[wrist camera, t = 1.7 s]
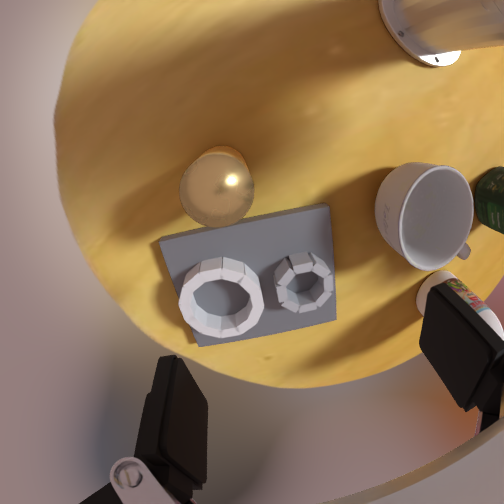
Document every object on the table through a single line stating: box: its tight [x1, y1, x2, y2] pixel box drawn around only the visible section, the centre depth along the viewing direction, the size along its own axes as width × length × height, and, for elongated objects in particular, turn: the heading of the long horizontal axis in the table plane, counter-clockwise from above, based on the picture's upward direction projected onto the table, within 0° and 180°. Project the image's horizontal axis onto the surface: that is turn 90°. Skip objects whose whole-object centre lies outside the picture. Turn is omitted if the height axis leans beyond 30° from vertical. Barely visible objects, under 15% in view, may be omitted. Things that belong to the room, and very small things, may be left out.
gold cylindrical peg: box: [179, 146, 254, 227], centre depth 23 cm, size 5×5×10 cm
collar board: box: [159, 203, 336, 347], centre depth 31 cm, size 15×18×4 cm
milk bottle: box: [416, 270, 504, 341], centre depth 27 cm, size 8×8×20 cm
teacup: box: [375, 162, 474, 271], centre depth 27 cm, size 14×11×8 cm
